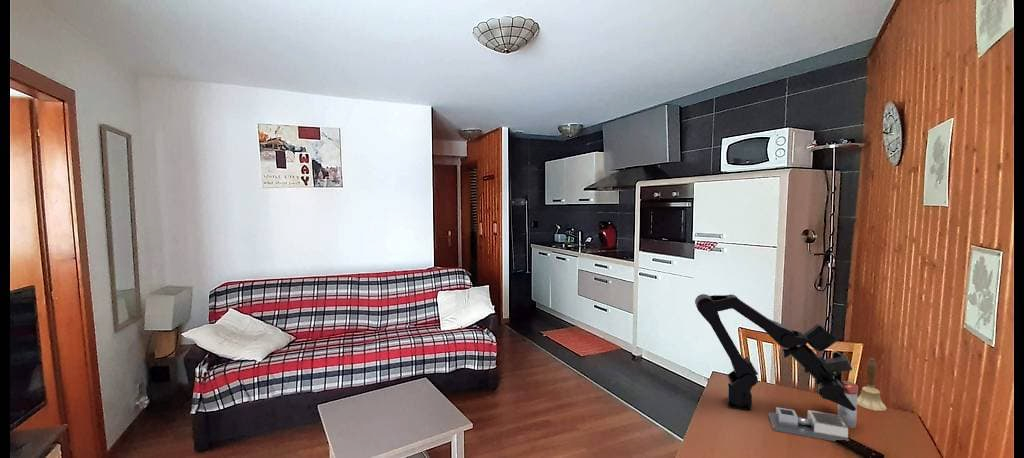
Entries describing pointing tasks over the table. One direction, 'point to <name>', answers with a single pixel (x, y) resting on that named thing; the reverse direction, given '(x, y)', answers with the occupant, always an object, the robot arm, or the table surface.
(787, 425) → the desk organizer
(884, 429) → the table surface
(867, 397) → the hand bell
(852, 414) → the grey jar
